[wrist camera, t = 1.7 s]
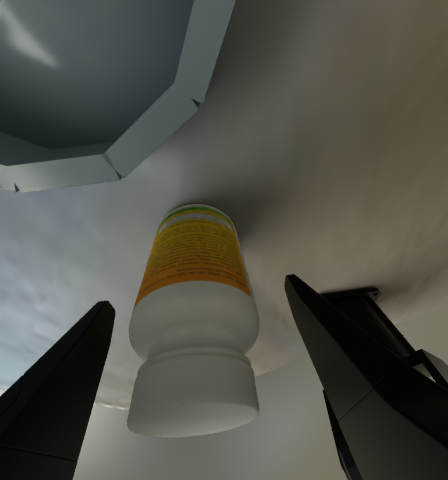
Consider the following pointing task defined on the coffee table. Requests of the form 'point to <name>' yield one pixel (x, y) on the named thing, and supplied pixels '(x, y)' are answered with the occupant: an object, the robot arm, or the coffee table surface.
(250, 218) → the coffee table surface
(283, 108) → the coffee table surface
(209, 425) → the supplement bottle
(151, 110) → the slate bowl
